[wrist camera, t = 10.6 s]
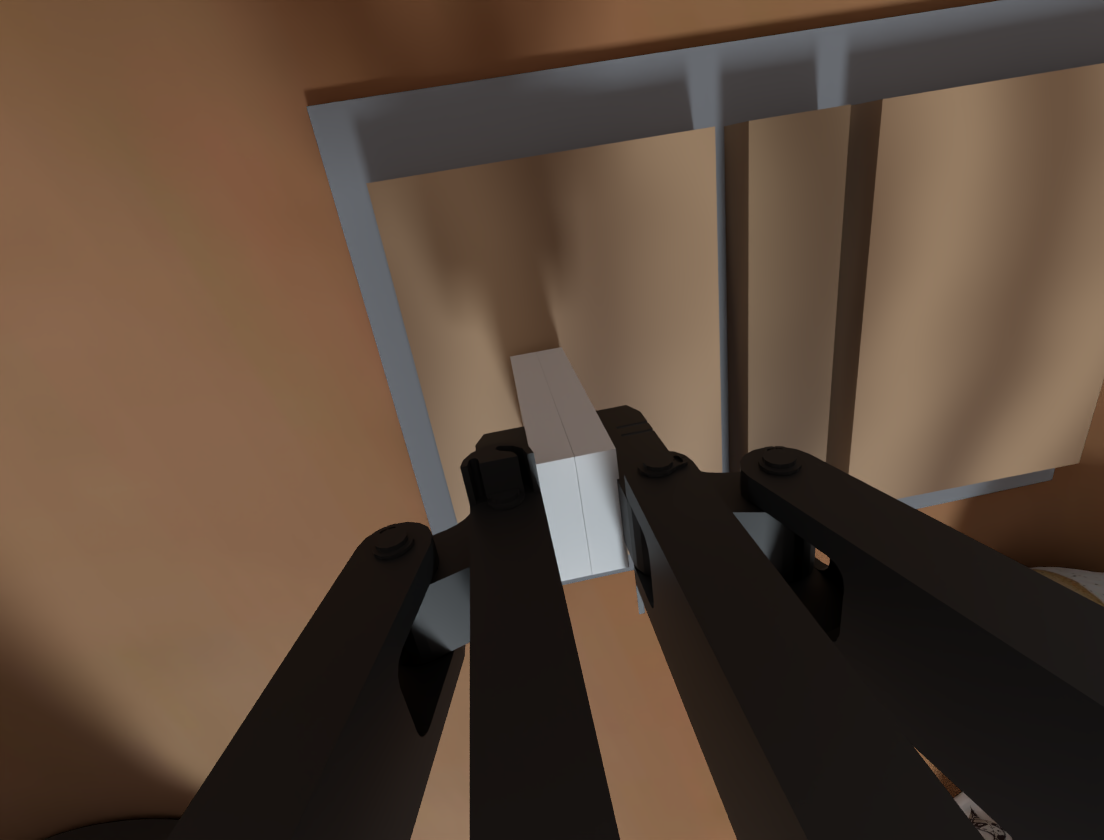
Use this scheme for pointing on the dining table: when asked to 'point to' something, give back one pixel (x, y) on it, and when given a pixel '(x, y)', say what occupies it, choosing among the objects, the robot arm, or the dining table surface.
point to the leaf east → (970, 283)
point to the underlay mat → (658, 109)
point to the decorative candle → (981, 819)
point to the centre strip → (783, 276)
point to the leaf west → (563, 287)
